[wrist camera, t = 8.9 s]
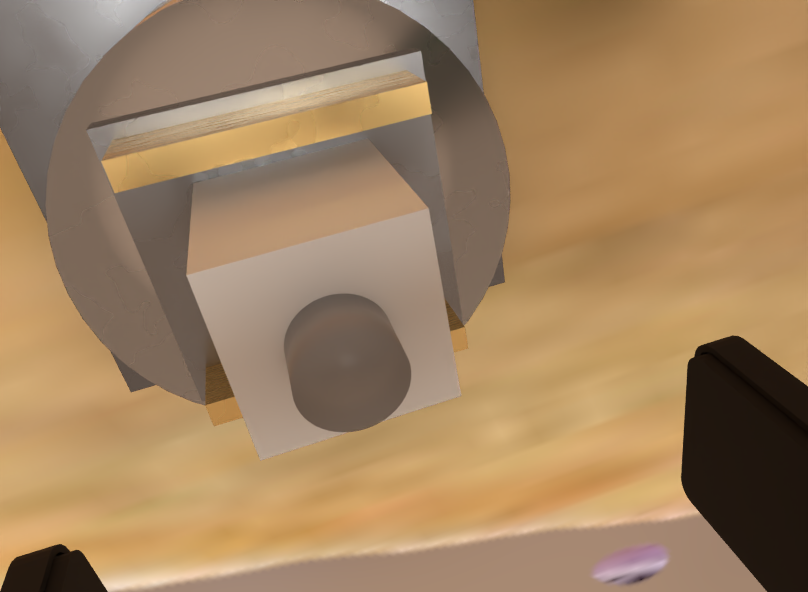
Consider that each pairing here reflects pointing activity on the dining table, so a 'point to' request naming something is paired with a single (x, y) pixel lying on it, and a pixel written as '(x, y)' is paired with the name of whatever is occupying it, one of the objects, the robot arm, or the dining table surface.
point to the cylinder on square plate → (235, 144)
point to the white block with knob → (321, 295)
